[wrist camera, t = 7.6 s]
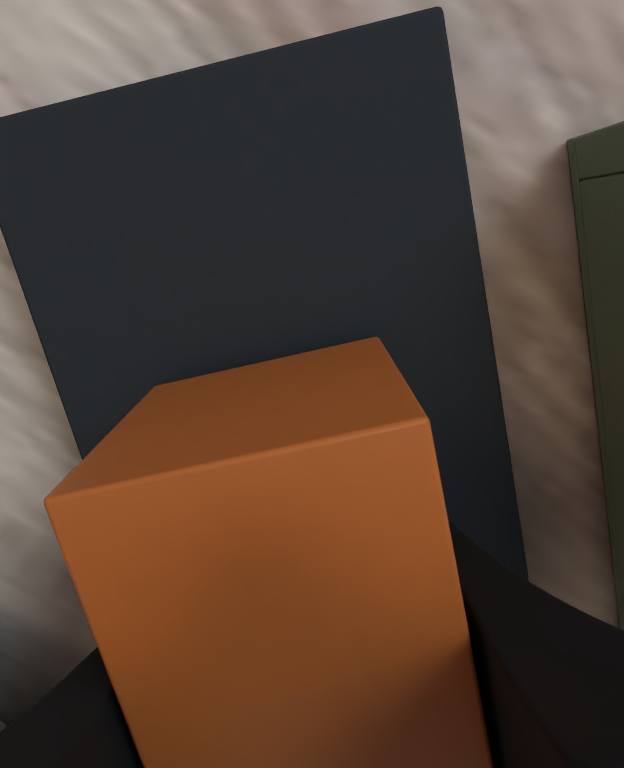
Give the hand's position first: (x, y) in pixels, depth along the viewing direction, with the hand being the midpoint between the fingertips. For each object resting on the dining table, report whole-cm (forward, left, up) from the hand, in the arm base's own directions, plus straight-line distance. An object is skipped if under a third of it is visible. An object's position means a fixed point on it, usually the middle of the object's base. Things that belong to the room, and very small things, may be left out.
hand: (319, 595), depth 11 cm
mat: (0, 0, -2) cm, 2 cm away
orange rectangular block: (0, 0, -1) cm, 1 cm away
